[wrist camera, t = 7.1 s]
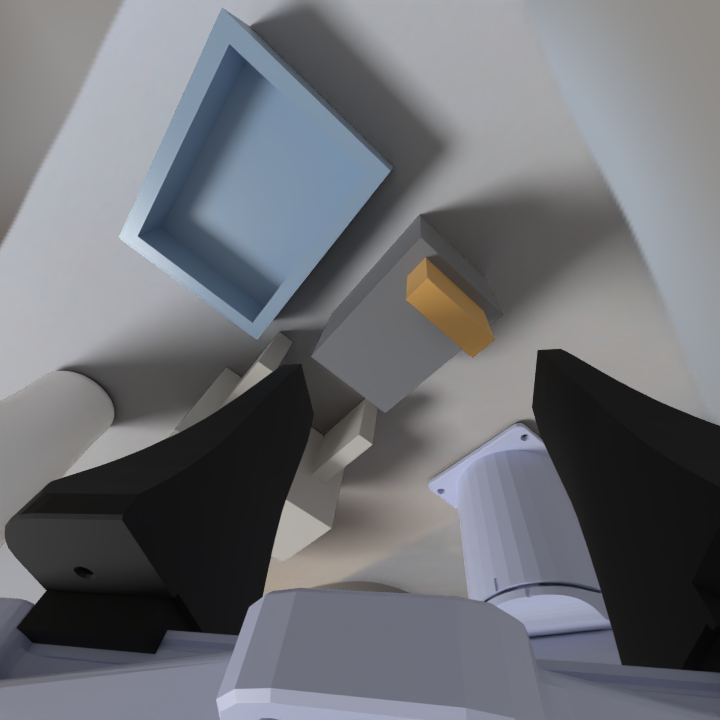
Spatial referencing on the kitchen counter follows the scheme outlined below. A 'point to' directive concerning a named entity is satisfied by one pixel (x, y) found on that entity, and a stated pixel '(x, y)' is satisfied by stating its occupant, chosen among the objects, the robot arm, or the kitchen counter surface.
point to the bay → (319, 461)
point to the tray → (250, 180)
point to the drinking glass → (46, 434)
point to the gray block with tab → (408, 318)
